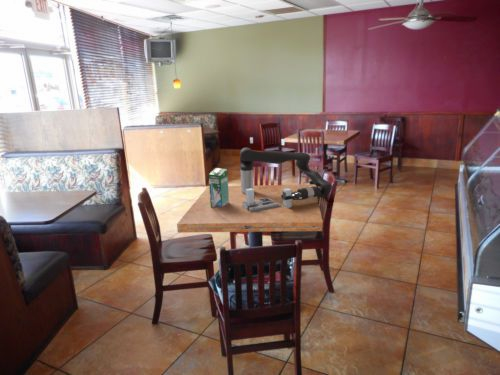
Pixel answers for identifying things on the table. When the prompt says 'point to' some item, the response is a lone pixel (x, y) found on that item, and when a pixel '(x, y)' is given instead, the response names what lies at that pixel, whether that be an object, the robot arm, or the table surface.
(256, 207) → the rail board
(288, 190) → the loose finger
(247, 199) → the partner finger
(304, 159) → the robot arm
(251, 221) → the table surface
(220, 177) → the milk carton
